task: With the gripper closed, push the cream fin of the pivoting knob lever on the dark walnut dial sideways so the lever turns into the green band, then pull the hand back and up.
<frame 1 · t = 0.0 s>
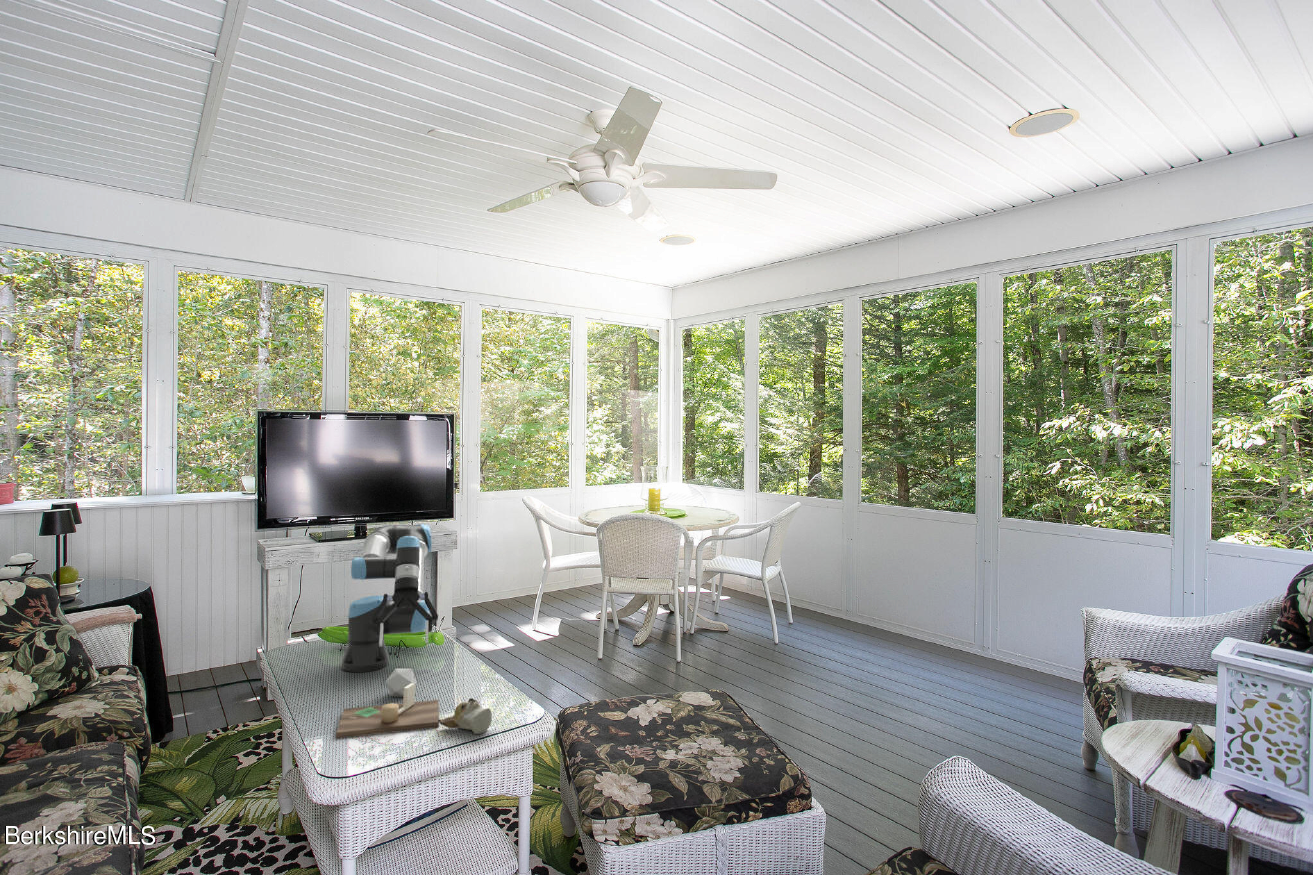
hand: (403, 643, 209), 15 cm above the table, fingers open, 13 cm apart
dial plate: (390, 720, 188), on the table
knob lever: (399, 702, 189), point 5 cm above the table, hinge at -30.0°
ceramic sculpture: (469, 729, 184), on the table
die: (401, 695, 206), on the table
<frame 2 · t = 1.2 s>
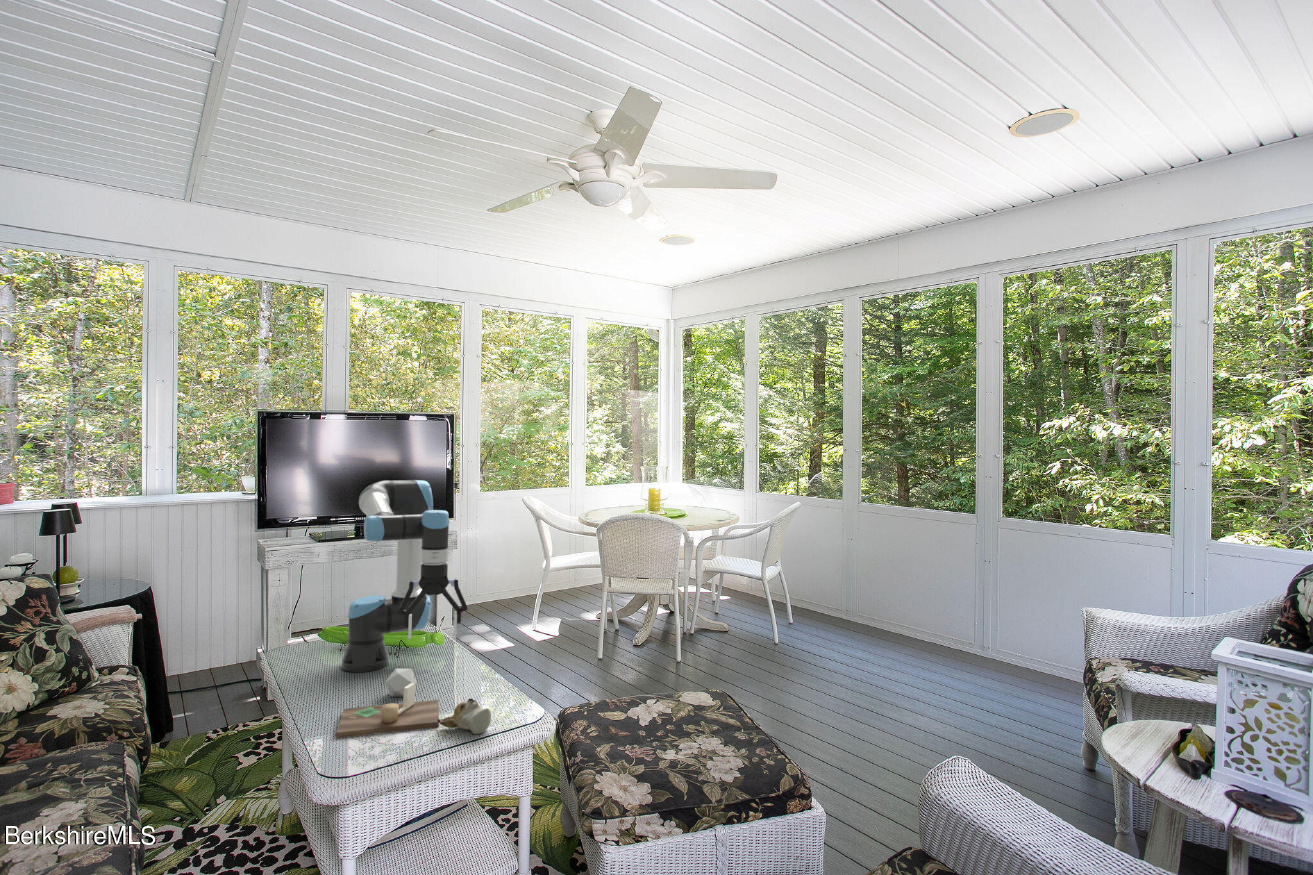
hand: (432, 636, 195), 22 cm above the table, fingers open, 12 cm apart
nothing on the table moved.
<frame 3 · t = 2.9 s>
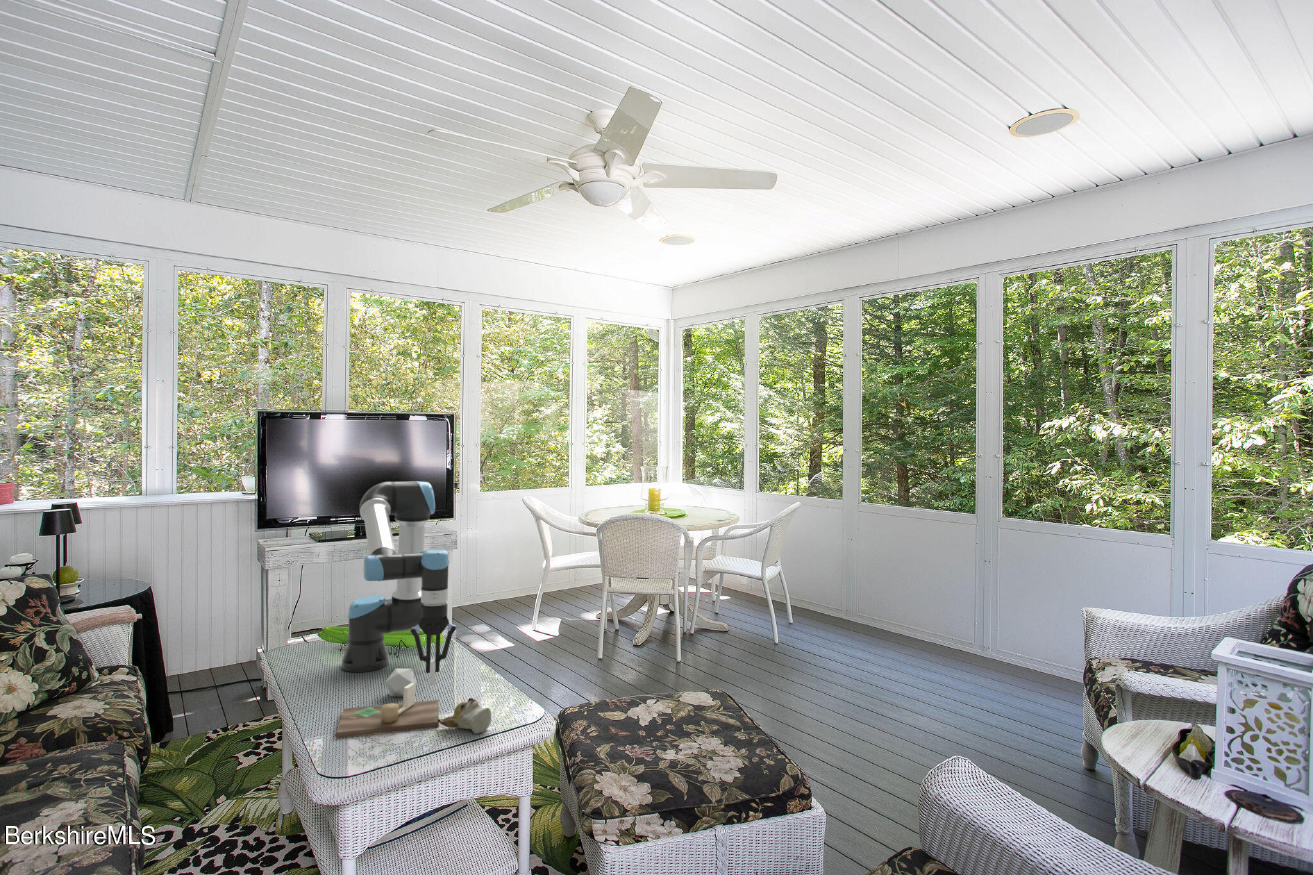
hand: (432, 683, 195), 8 cm above the table, fingers closed
nothing on the table moved.
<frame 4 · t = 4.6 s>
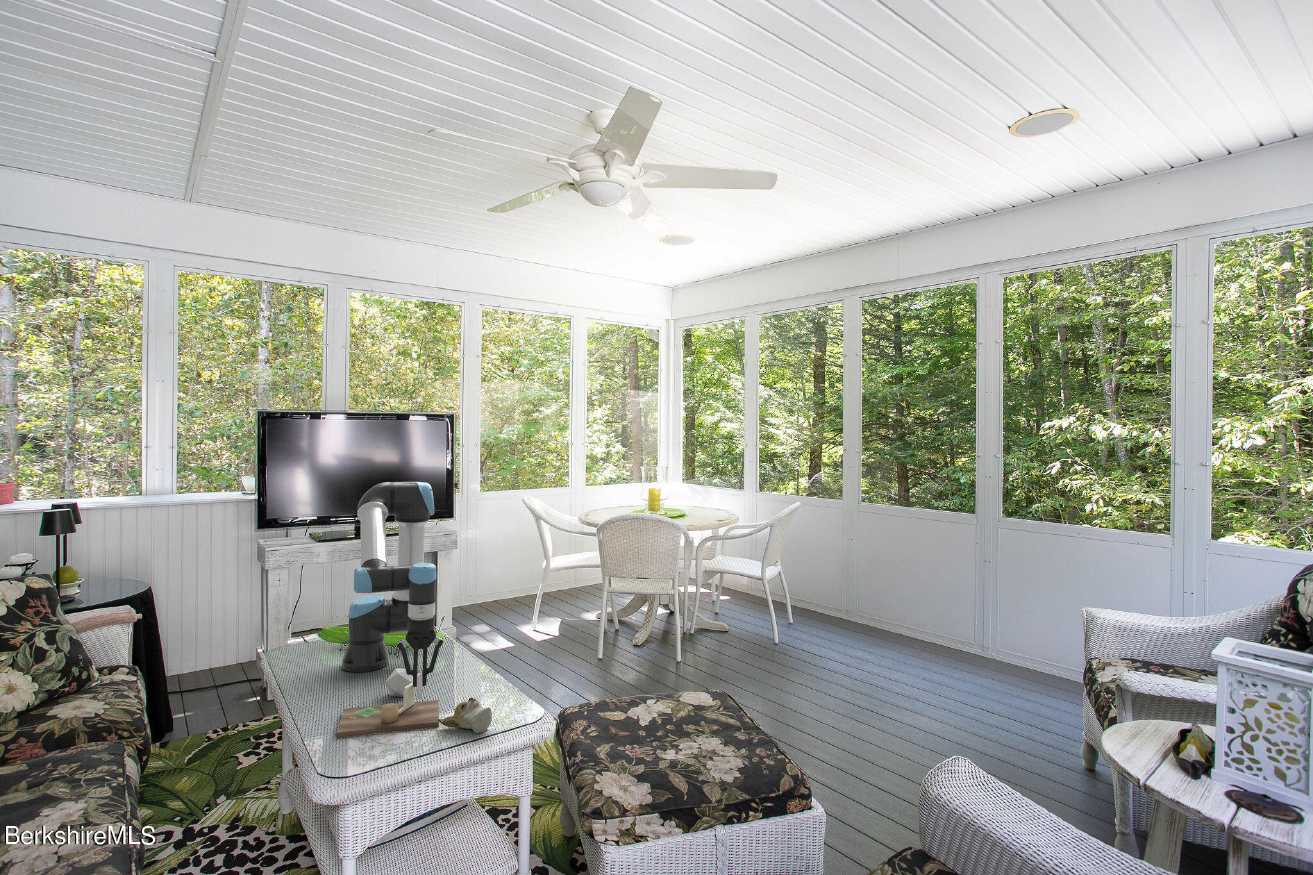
hand: (419, 696, 194), 4 cm above the table, fingers closed
knob lever: (399, 702, 189), point 5 cm above the table, hinge at -30.0°, touching gripper
everything else where it was.
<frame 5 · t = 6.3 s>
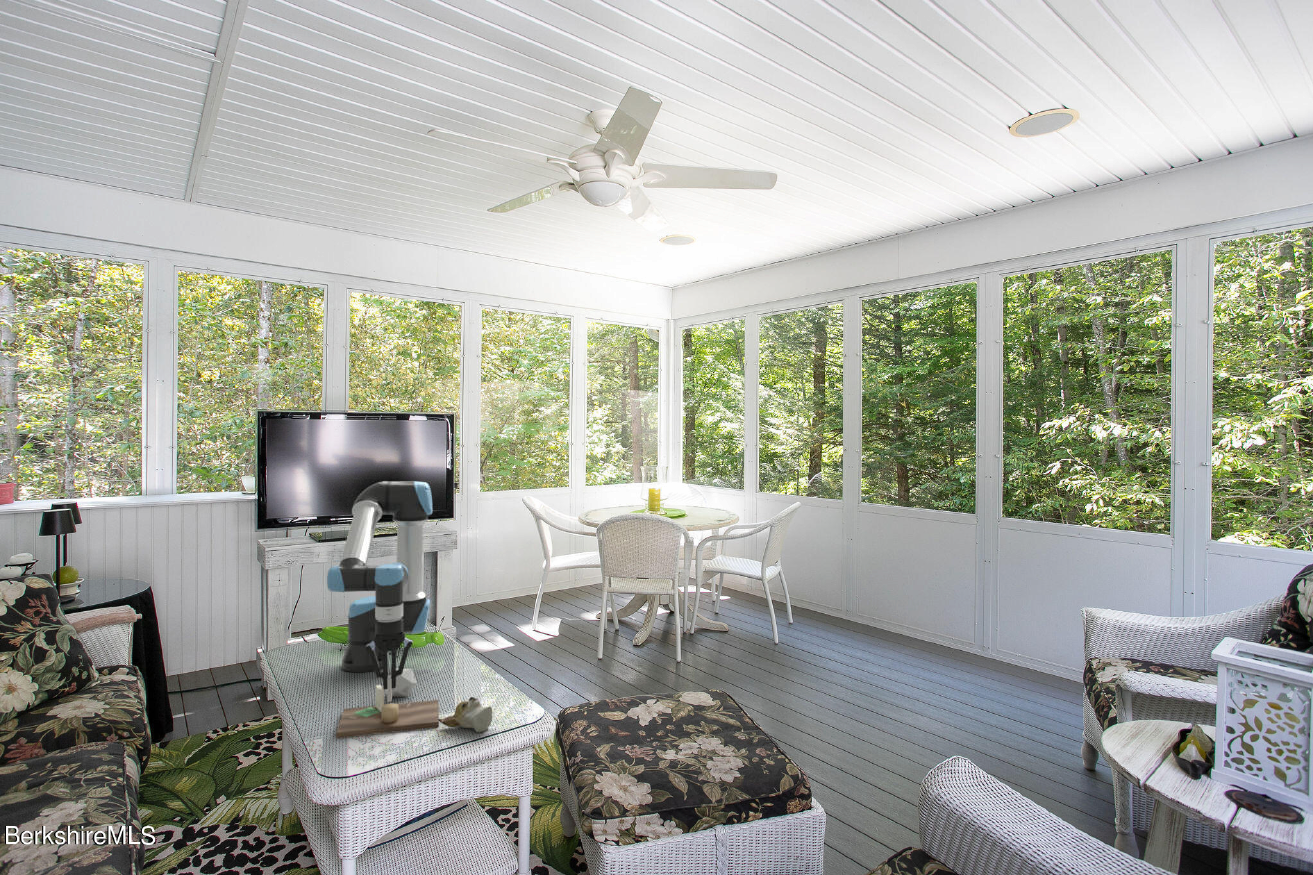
hand: (389, 699, 192), 4 cm above the table, fingers closed
knob lever: (384, 703, 188), point 5 cm above the table, hinge at 20.5°, touching gripper
everything else where it was.
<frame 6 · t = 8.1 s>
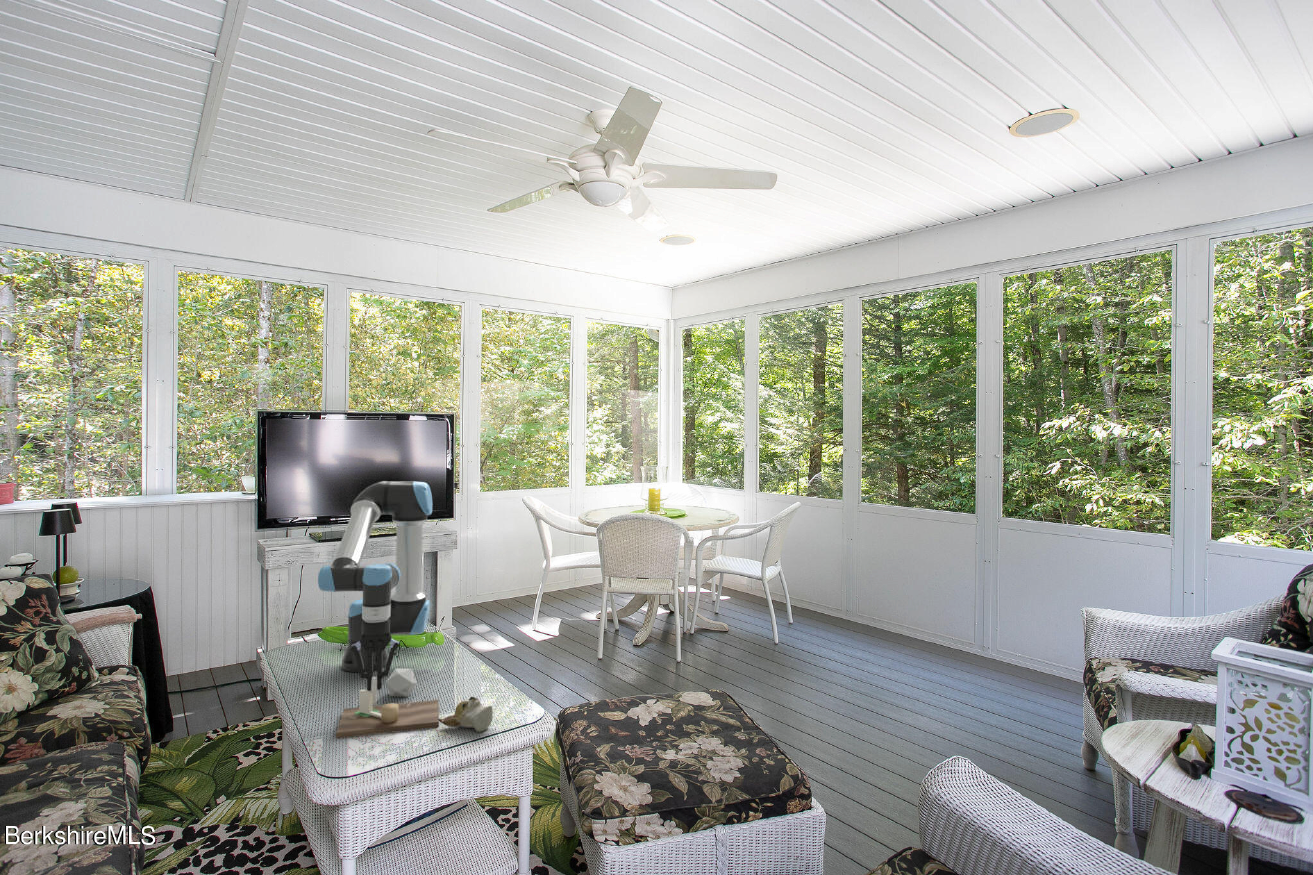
hand: (374, 701, 190), 4 cm above the table, fingers closed
knob lever: (378, 705, 186), point 5 cm above the table, hinge at 45.2°, touching gripper
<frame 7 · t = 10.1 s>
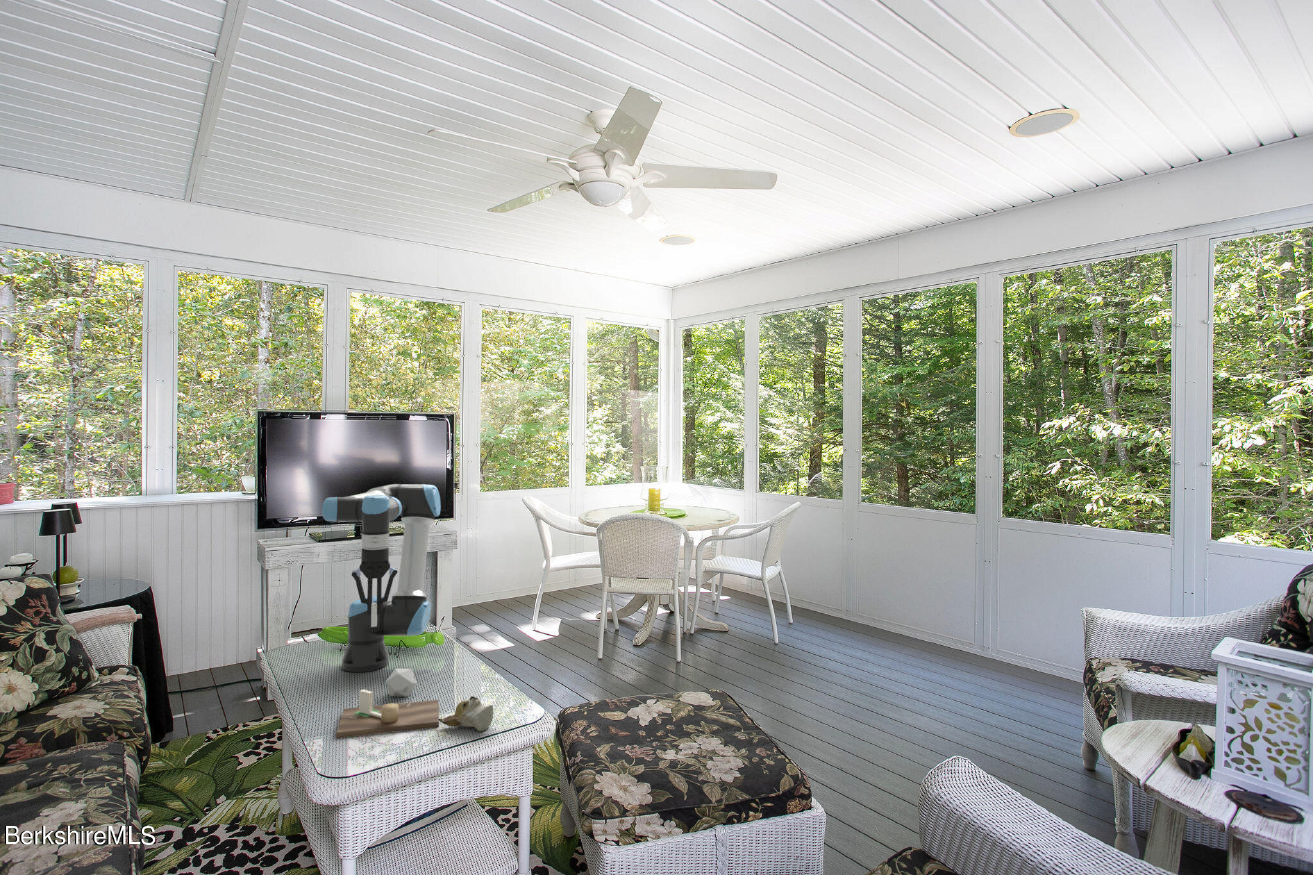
hand: (374, 625, 198), 24 cm above the table, fingers closed
knob lever: (378, 705, 186), point 5 cm above the table, hinge at 45.3°
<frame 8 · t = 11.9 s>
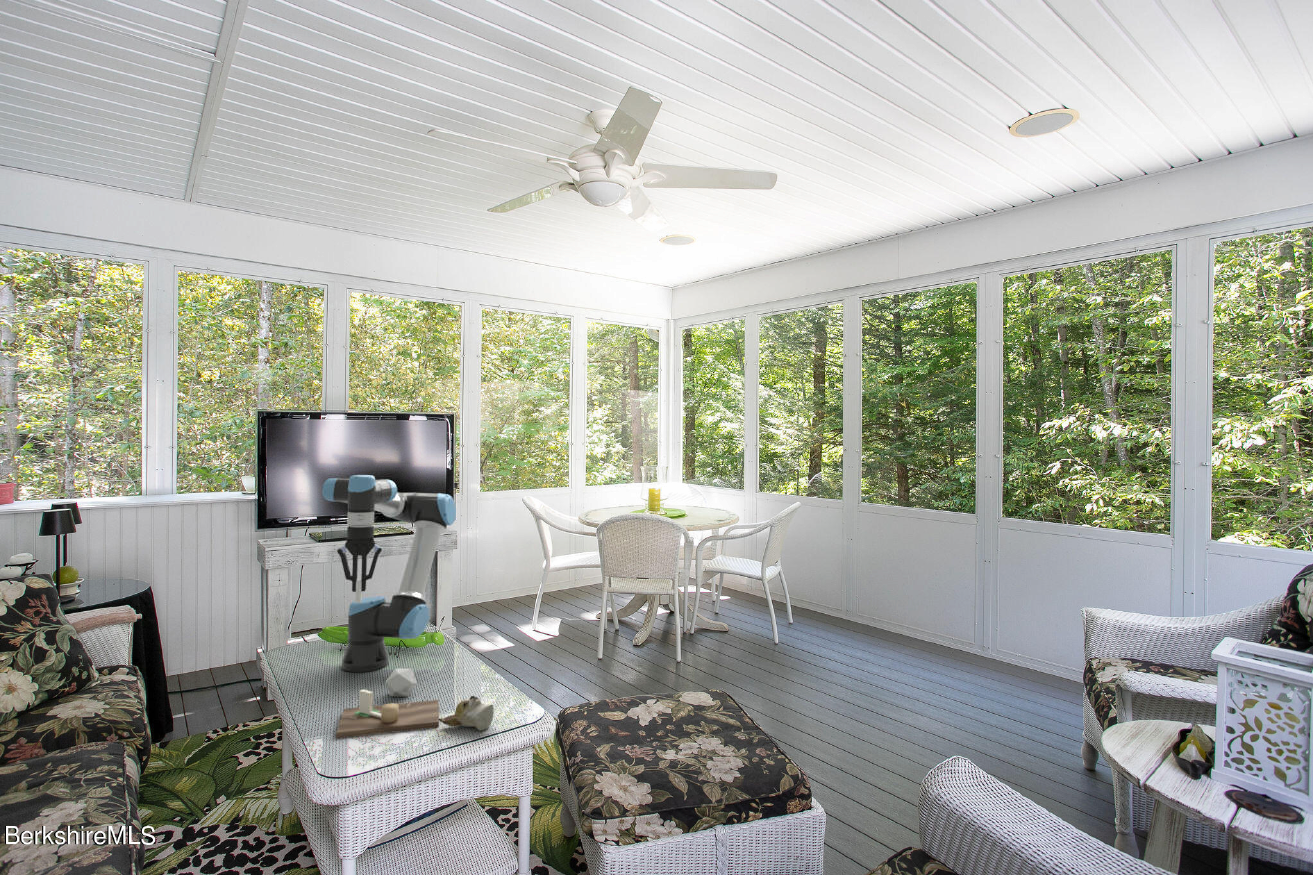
hand: (358, 601, 203), 29 cm above the table, fingers closed
at the end: knob lever at +45° (first picture: -30°); ceramic sculpture moved 1.8 cm from its start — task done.
